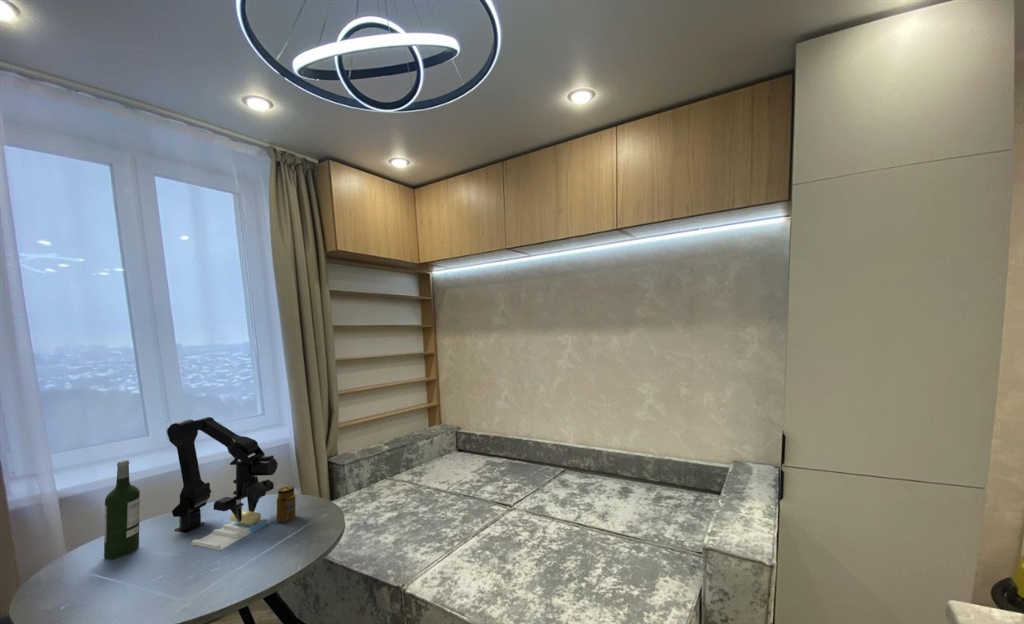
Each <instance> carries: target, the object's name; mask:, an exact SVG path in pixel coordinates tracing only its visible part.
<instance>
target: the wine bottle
mask: <svg viewBox="0 0 1024 624" xmlns="http://www.w3.org/2000/svg"><path fill="white" fill-rule="evenodd" d="M129 465H130V461H129V459H123V460H120V461H117V463H116V467H117V471H116V481H115V483H116V485H115V487H114V488H113V489H112V490H111V491H110V492H109V493H108V494H107V495H106V497H105V500H104V530H103V531H104V537H103V538H104V541H103V542H104V543H103V547H104V549H103V557H104V560H107V561H112V560H116V559H118V558H123V557H125V556H127V555H130V554H131V553H133V552H135V551H137V550H138V549H139V547H140V507H141V506H140V505H141V504H140V502H141V501H140V500H141V499H140V497H141V495H140V493H141V492H140V489H139V488H138V487H137V486H135V485H133V484H131V483H130V466H129Z"/></svg>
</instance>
